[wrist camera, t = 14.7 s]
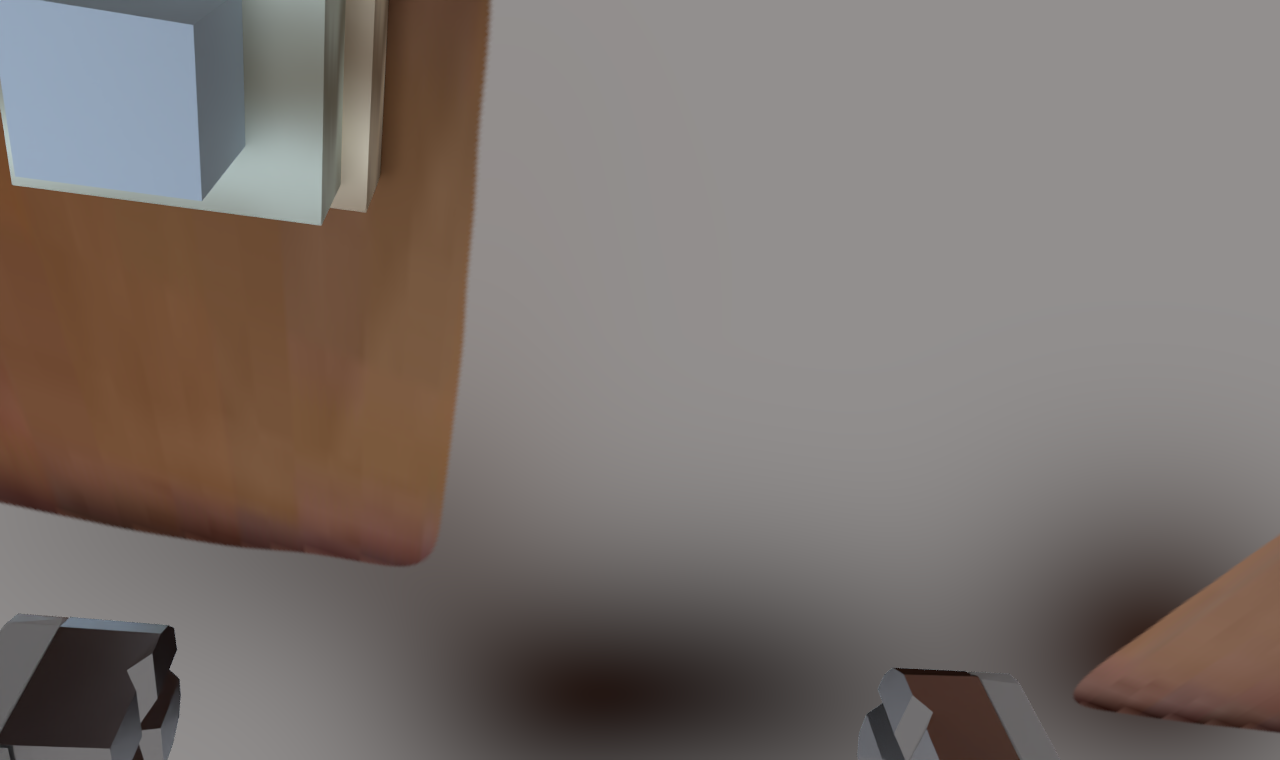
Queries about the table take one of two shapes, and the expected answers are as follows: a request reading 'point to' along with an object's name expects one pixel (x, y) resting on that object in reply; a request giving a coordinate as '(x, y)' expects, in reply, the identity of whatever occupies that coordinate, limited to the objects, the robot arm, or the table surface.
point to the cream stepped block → (295, 114)
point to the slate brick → (124, 92)
